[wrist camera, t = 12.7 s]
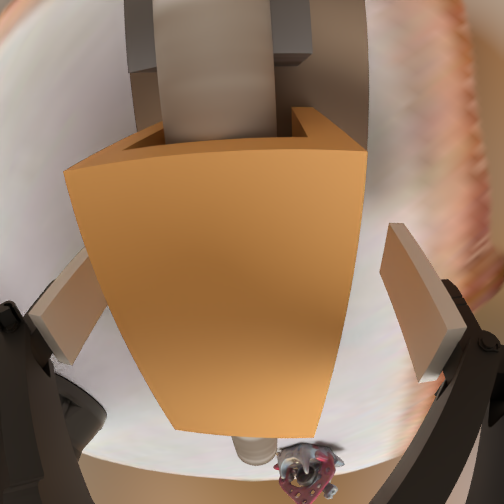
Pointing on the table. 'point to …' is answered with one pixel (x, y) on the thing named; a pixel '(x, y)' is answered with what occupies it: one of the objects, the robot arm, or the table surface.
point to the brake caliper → (307, 471)
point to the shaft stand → (247, 78)
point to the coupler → (228, 268)
